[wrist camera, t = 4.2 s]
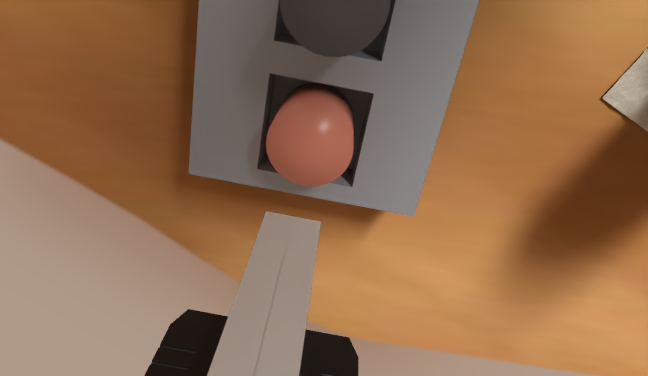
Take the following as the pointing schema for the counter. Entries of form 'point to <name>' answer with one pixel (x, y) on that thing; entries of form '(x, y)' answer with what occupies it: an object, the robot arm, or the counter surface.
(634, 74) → the condiment
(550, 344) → the counter surface
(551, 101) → the counter surface
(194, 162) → the button board
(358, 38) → the black button
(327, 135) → the red button
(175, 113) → the counter surface
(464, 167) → the counter surface
